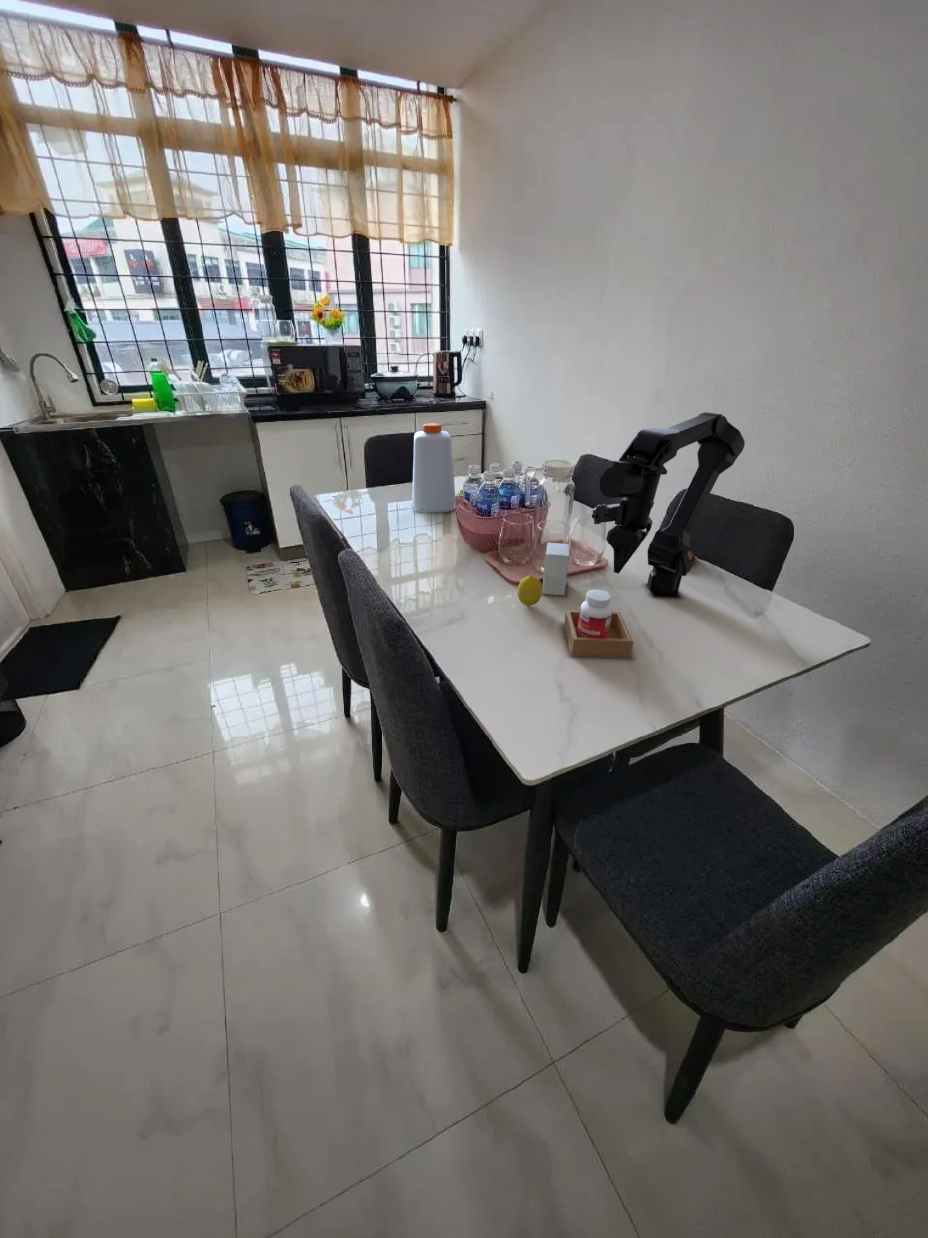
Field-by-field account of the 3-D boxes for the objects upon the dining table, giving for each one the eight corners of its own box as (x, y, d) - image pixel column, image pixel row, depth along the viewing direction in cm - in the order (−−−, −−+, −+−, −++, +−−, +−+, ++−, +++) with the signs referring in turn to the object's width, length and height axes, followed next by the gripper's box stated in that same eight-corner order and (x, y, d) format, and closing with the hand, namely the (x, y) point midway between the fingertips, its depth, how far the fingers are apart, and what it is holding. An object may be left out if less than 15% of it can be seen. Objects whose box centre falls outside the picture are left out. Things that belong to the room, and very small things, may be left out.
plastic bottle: (412, 500, 186) (409, 420, 171) (452, 500, 187) (453, 420, 173) (413, 514, 173) (409, 428, 158) (456, 513, 174) (457, 428, 160)
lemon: (542, 603, 118) (545, 572, 114) (537, 614, 114) (540, 582, 110) (519, 599, 120) (522, 568, 116) (513, 609, 115) (516, 578, 111)
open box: (617, 627, 109) (620, 611, 107) (630, 657, 99) (633, 641, 97) (563, 625, 110) (565, 610, 108) (571, 655, 100) (573, 639, 98)
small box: (564, 596, 122) (569, 556, 116) (541, 594, 122) (545, 554, 117) (565, 582, 128) (570, 543, 123) (543, 580, 129) (547, 541, 124)
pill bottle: (570, 642, 103) (576, 595, 97) (584, 631, 107) (591, 584, 101) (597, 654, 100) (606, 605, 94) (611, 641, 104) (620, 594, 98)
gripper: (610, 482, 113) (594, 548, 120) (590, 494, 98) (573, 568, 105) (661, 492, 109) (641, 560, 116) (648, 506, 94) (626, 583, 101)
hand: (620, 567), depth 109 cm, fingers open, 9 cm apart
